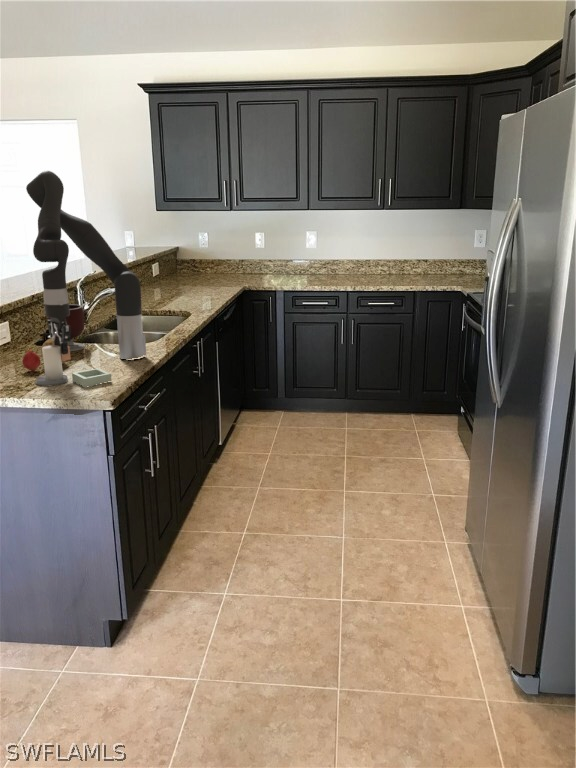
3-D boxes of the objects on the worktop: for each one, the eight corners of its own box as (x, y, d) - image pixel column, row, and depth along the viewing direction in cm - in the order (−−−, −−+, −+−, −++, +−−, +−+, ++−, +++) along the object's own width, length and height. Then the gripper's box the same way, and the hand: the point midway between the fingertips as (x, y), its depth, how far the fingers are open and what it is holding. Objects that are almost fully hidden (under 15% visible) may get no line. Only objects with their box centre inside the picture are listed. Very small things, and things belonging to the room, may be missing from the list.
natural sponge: (42, 362, 223) (39, 336, 220) (67, 360, 227) (64, 334, 224) (43, 368, 215) (40, 341, 212) (69, 366, 219) (66, 339, 216)
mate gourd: (91, 344, 252) (87, 297, 246) (80, 352, 239) (76, 302, 233) (54, 343, 252) (49, 296, 246) (42, 351, 239) (36, 302, 233)
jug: (49, 381, 196) (46, 350, 193) (42, 377, 200) (39, 347, 197) (74, 376, 202) (71, 346, 199) (67, 372, 206) (64, 343, 203)
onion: (23, 374, 208) (21, 351, 206) (23, 369, 213) (21, 348, 211) (41, 372, 210) (39, 350, 208) (41, 368, 215) (38, 346, 213)
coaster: (60, 375, 207) (60, 372, 206) (72, 382, 200) (72, 378, 199) (31, 381, 200) (30, 377, 200) (42, 387, 193) (42, 384, 193)
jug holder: (98, 376, 207) (98, 368, 206) (111, 382, 200) (110, 373, 199) (72, 381, 200) (71, 372, 199) (85, 387, 194) (84, 378, 193)
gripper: (36, 300, 197) (42, 350, 202) (54, 306, 187) (59, 358, 193) (58, 298, 202) (63, 347, 207) (76, 303, 192) (81, 354, 197)
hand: (61, 352), depth 200 cm, fingers open, 4 cm apart
